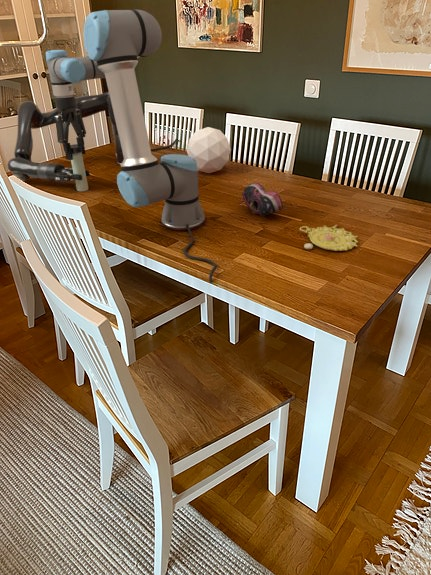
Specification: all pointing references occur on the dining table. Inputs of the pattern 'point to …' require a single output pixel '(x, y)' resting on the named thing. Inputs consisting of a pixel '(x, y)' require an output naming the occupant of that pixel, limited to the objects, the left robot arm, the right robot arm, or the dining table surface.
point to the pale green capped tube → (79, 171)
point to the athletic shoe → (261, 200)
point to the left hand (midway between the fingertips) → (85, 175)
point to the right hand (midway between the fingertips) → (76, 156)
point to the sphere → (209, 149)
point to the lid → (76, 148)
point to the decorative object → (330, 238)
